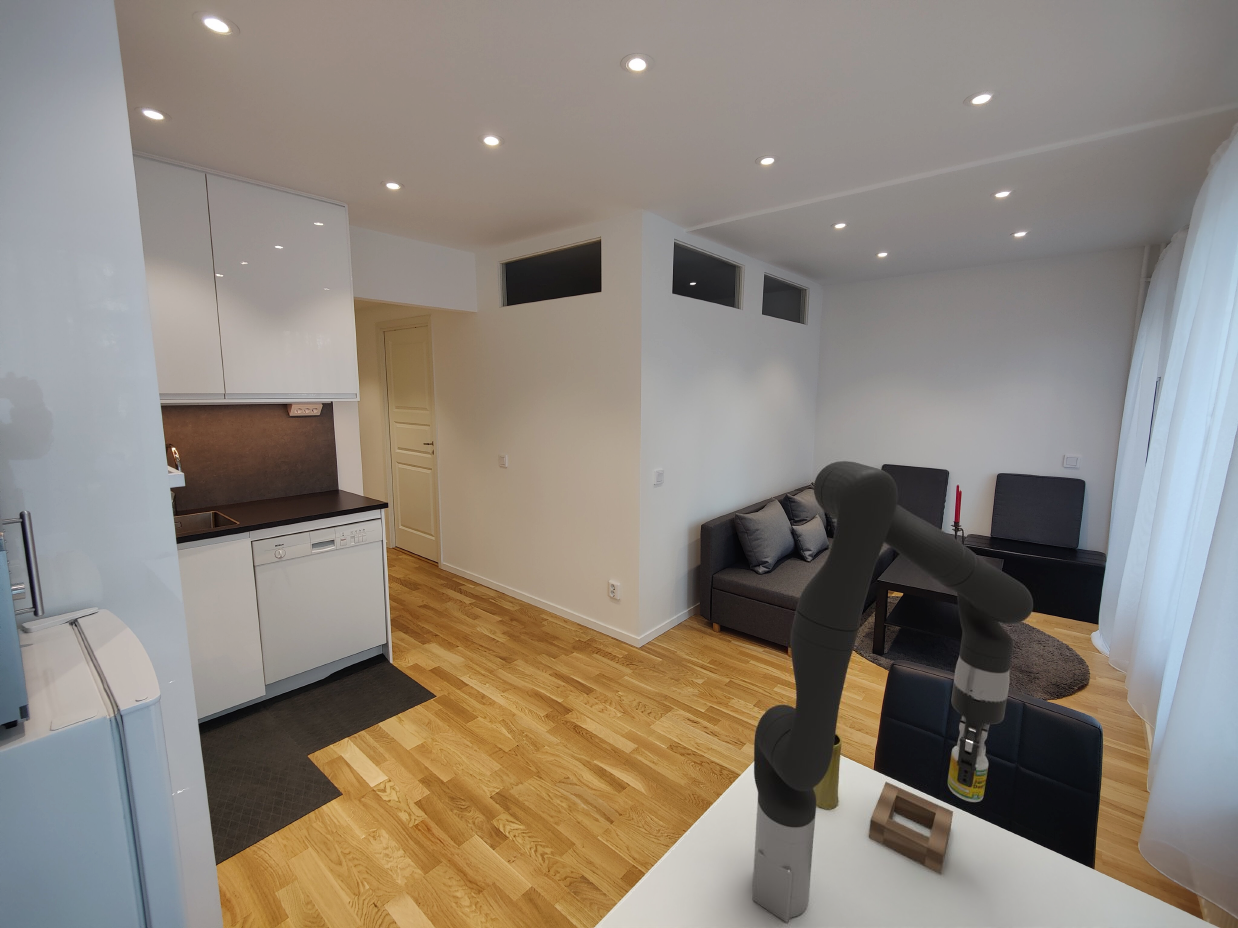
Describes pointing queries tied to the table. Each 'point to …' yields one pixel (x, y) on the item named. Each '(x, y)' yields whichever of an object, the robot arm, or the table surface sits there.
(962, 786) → the supplement bottle
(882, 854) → the table surface
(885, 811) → the socket block
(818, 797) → the vase
